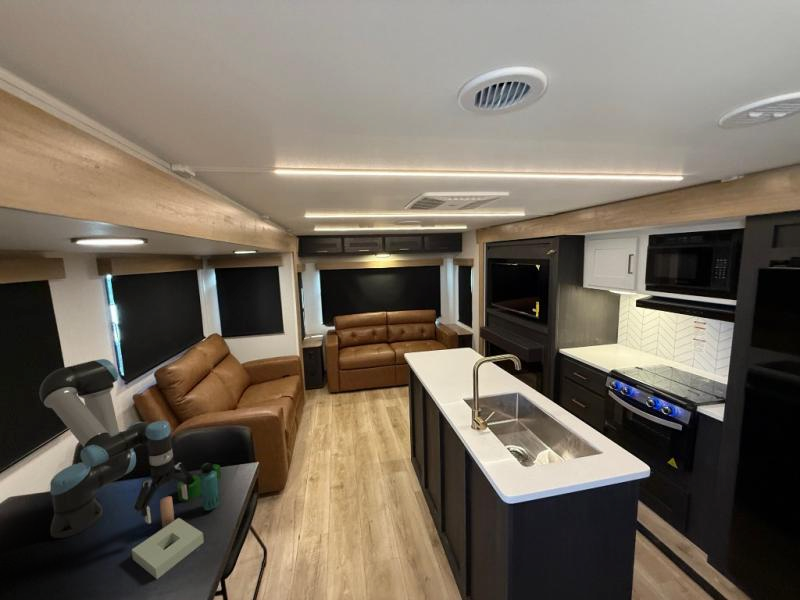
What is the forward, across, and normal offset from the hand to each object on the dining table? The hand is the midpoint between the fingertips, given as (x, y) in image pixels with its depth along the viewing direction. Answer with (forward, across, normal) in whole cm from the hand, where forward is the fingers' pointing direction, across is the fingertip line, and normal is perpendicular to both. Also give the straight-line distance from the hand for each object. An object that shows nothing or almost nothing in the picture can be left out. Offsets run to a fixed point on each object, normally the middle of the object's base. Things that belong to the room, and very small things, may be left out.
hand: (167, 509), depth 129 cm
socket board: (+8, -6, -11) cm, 15 cm away
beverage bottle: (+8, +14, -5) cm, 17 cm away
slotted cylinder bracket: (+8, +19, +13) cm, 24 cm away
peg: (+8, 0, +1) cm, 8 cm away
